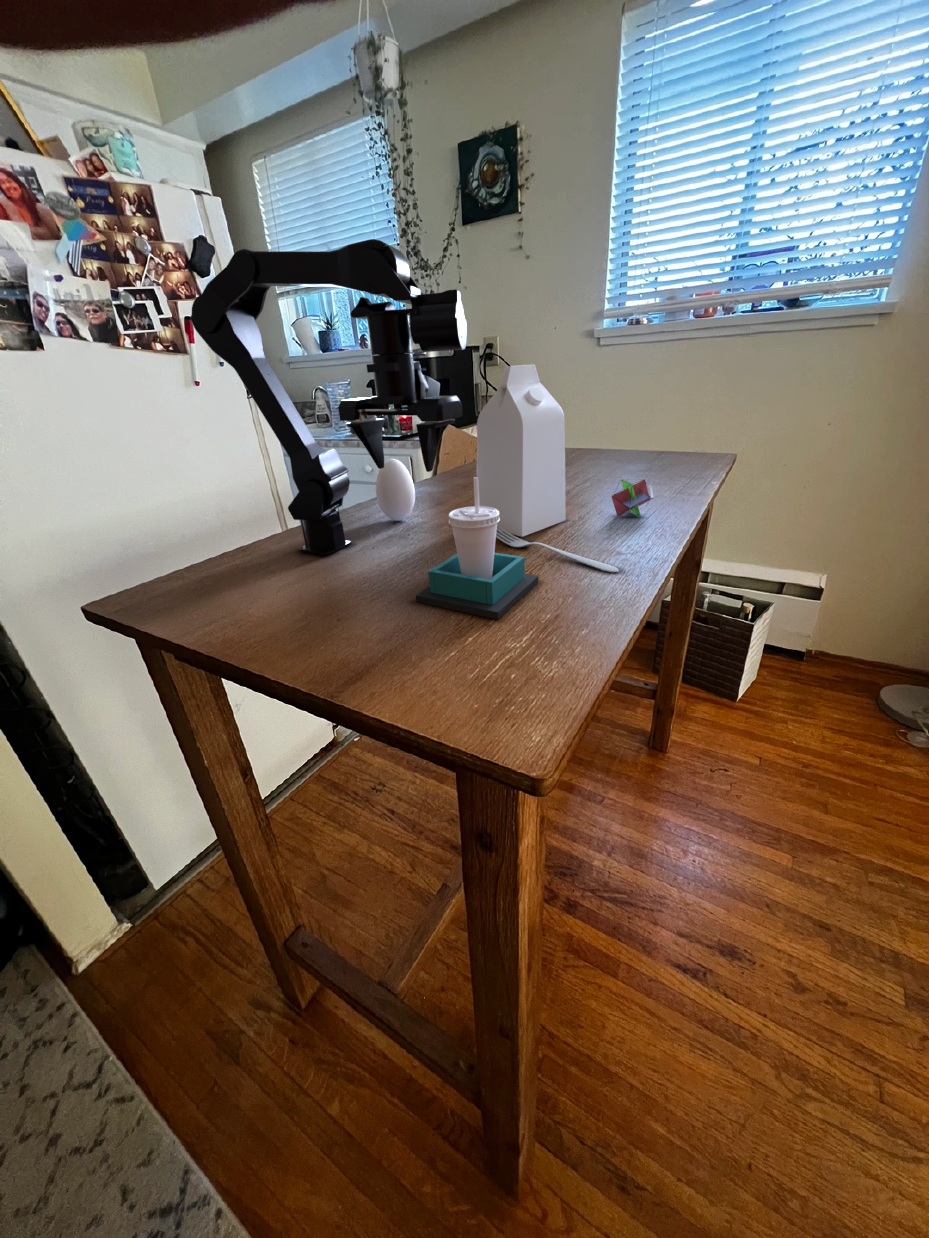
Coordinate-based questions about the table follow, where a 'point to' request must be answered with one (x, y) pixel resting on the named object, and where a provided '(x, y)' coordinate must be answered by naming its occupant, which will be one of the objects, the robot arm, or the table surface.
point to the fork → (578, 558)
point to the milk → (522, 454)
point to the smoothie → (475, 537)
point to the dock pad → (478, 587)
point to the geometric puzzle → (631, 497)
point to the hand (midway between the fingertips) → (404, 469)
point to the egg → (395, 490)
